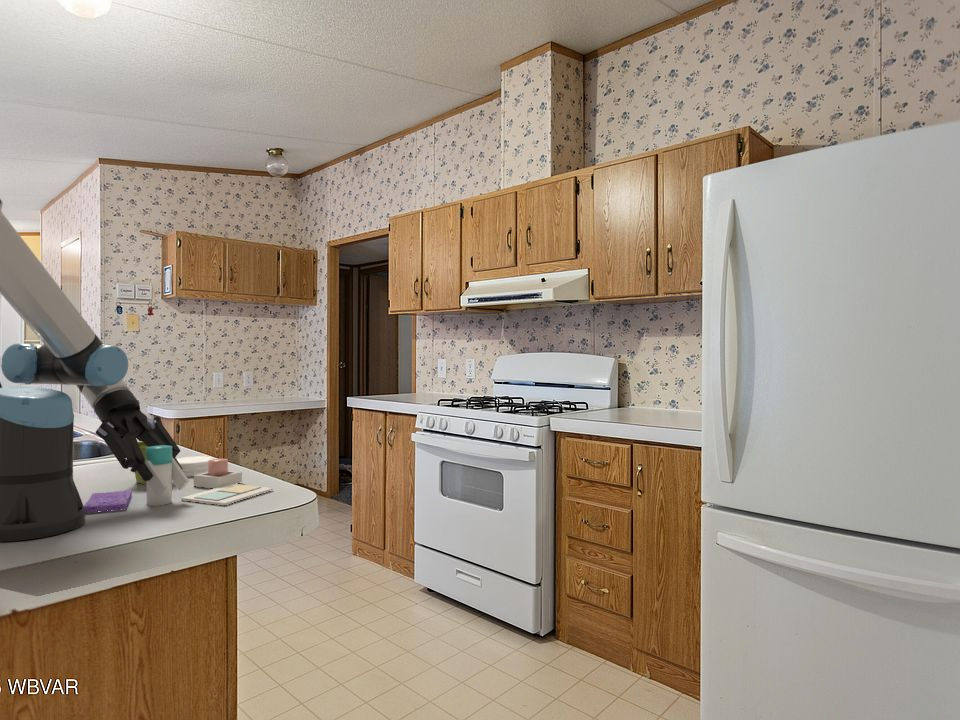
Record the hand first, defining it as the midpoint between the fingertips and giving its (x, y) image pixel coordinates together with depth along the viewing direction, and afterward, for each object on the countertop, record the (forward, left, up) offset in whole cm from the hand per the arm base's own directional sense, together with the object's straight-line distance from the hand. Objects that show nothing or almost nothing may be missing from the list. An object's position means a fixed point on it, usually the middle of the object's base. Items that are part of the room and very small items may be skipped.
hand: (173, 488), depth 121 cm
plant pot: (+14, +22, -3) cm, 26 cm away
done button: (+17, +5, -1) cm, 18 cm away
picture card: (+10, -4, -3) cm, 11 cm away
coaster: (+25, +21, -4) cm, 33 cm away
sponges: (-4, +12, -4) cm, 13 cm away
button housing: (+17, +5, -3) cm, 18 cm away
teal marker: (0, +4, -3) cm, 5 cm away
